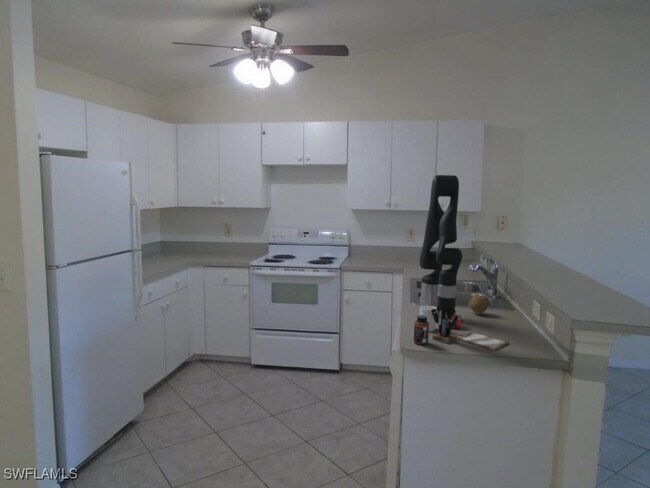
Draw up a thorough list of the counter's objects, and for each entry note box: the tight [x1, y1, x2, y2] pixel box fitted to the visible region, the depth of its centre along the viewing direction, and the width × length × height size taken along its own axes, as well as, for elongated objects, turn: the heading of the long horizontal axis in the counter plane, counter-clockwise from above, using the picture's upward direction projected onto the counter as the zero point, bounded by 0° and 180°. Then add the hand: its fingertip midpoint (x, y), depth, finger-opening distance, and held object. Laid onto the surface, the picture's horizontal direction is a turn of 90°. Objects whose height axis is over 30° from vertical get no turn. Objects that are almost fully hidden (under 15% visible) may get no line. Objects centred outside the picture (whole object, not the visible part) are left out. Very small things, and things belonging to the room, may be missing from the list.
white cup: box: [420, 306, 437, 332], centre depth 200 cm, size 8×8×10 cm
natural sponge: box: [468, 294, 488, 316], centre depth 225 cm, size 9×9×10 cm
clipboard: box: [456, 330, 510, 352], centre depth 186 cm, size 18×13×1 cm
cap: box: [452, 316, 463, 329], centre depth 204 cm, size 8×6×6 cm
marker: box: [441, 318, 448, 337], centre depth 187 cm, size 3×3×9 cm
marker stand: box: [432, 332, 457, 345], centre depth 187 cm, size 7×7×2 cm
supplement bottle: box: [413, 314, 430, 346], centre depth 182 cm, size 6×6×11 cm
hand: (444, 334), depth 187 cm, fingers closed on marker, 2 cm apart
